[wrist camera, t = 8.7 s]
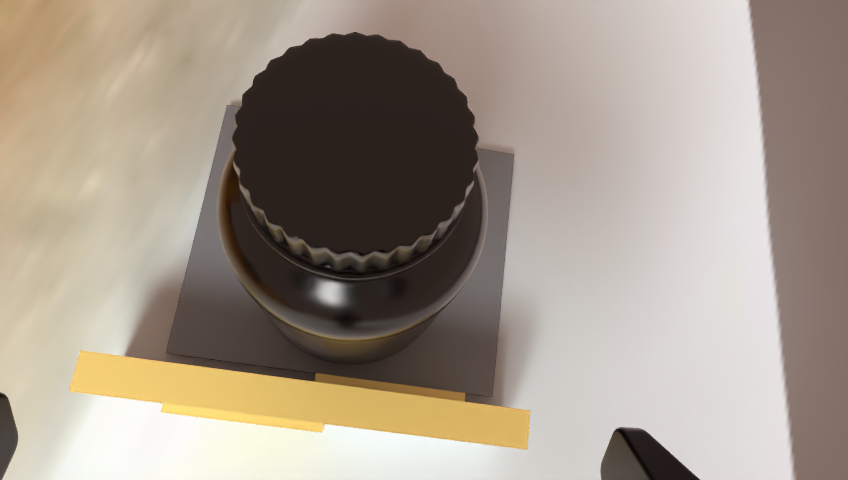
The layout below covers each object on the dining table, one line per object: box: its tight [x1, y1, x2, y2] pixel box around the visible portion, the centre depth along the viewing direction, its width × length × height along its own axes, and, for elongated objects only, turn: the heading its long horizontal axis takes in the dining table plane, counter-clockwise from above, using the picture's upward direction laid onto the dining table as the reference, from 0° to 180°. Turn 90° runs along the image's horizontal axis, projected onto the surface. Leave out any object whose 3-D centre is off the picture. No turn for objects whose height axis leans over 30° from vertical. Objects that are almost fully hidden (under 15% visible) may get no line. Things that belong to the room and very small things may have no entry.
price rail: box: [69, 350, 530, 450], centre depth 20 cm, size 2×14×4 cm, turn 83°
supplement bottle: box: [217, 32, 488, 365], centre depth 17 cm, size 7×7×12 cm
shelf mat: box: [166, 105, 514, 397], centre depth 23 cm, size 10×12×1 cm
